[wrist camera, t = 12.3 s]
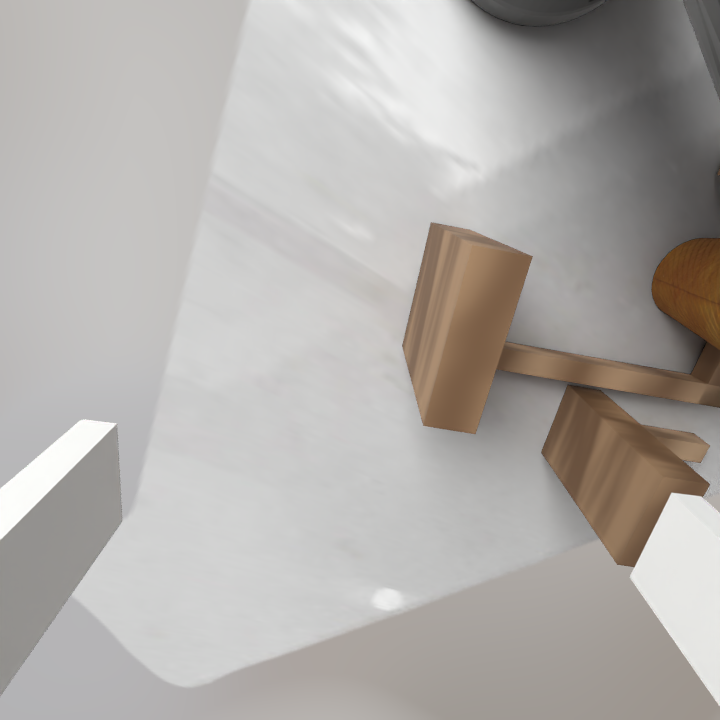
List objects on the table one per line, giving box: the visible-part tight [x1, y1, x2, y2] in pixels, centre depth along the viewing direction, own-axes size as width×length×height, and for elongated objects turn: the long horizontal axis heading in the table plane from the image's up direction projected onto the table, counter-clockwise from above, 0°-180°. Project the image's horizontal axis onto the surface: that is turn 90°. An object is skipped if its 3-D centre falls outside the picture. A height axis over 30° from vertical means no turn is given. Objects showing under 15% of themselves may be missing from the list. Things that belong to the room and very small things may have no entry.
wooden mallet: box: [541, 385, 710, 567], centre depth 34 cm, size 13×7×13 cm, turn 80°
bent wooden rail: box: [402, 169, 720, 434], centre depth 28 cm, size 27×19×13 cm
